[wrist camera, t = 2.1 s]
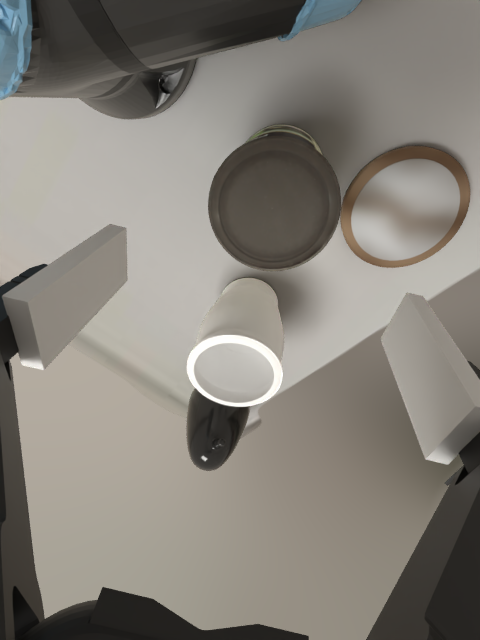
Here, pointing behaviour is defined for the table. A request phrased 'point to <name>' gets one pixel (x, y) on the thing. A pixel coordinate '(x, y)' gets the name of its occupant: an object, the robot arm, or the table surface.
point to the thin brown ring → (404, 206)
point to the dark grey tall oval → (213, 430)
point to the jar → (239, 346)
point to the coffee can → (275, 200)
